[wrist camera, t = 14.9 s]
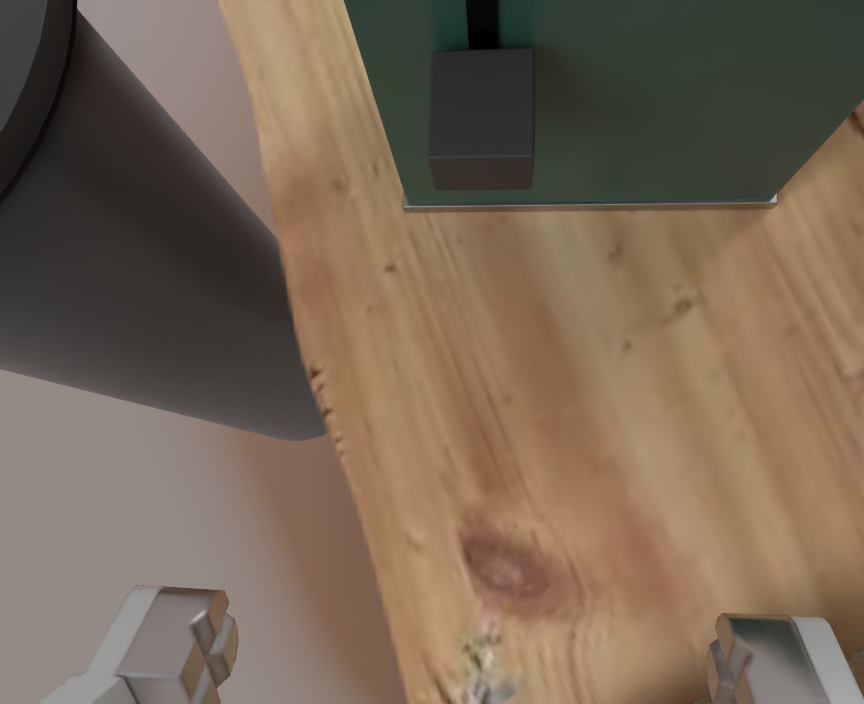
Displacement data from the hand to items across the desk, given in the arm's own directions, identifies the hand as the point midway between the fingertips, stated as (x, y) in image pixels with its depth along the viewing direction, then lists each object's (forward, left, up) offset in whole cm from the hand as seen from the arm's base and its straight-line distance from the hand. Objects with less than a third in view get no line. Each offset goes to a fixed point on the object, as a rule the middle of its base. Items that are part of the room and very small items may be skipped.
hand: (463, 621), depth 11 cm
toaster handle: (+2, +12, -6) cm, 14 cm away
